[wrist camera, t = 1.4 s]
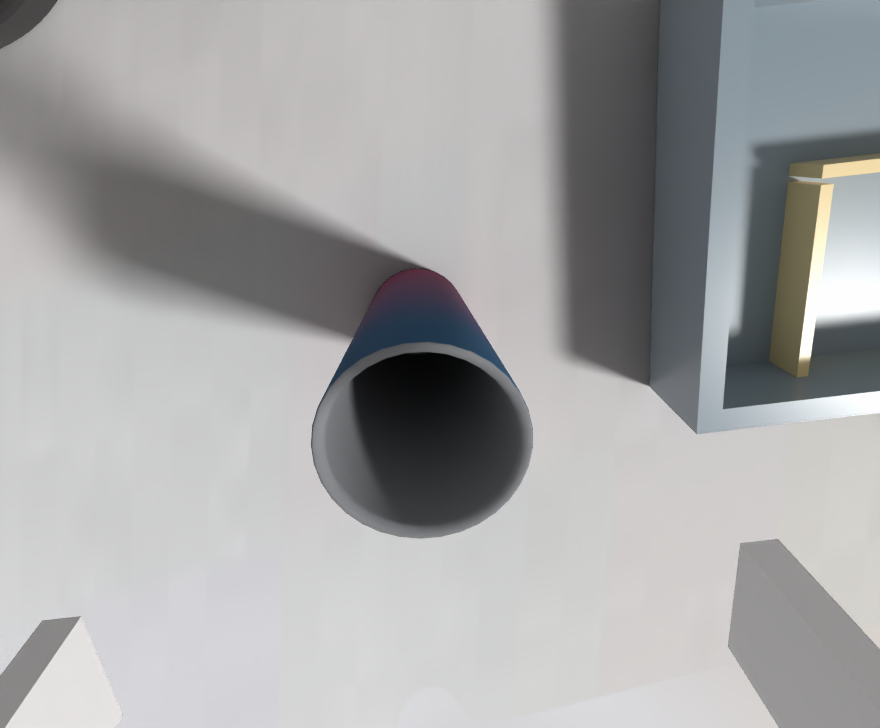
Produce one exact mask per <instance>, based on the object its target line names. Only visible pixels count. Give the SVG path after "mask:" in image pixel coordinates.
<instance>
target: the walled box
mask: <svg viewBox="0 0 880 728" xmlns="http://www.w3.org/2000/svg"><path fill="white" fill-rule="evenodd" d="M649 386H650V387H651V388H652V389H653V391H654V392H655V393H656V394H657V395H658V396H659V397H660V398H661V399H662V400H663V401H664V402H665V403H666V404H667V405H668V406H669V407H670V408H671V409H672V410H673V411H674V412H675V413H676V414H677V415H678V416H679V417H680V418H681V419H682V420H683V421H684V422H685V423H686V424H687V425H688V426H689V427H690V428H691V429H692V430H693V431H694V432H695V433H696V434H702V433H711V432H720V431H728V430H737V429H745V428H754V427H762V426H771V425H780V424H788V423H797V422H805V421H814V420H822V419H831V418H840V417H848V416H857V415H865V414H874V413H880V0H660V21H659V57H658V94H657V130H656V166H655V202H654V238H653V275H652V311H651V347H650V383H649Z"/></svg>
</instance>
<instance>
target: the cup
mask: <svg viewBox="0 0 880 728" xmlns="http://www.w3.org/2000/svg"><path fill="white" fill-rule="evenodd" d="M311 448H312V454H313V461H314V465H315V468H316V470H317V473H318V476H319V478H320V481H321V483H322V484H323V486H324V487H325V489H326V490H327V492H328V493H329V495H330V496H331V498H332V499H333V500H334V501H335V502H336V503H337V504H338V505H339V506H340V507H341V508H342V509H343V510H344V511H345V512H346V513H347V514H349V515H350V516H352V517H353V518H355V519H356V520H357V521H359V522H360V523H362V524H364V525H366V526H368V527H371V528H373V529H375V530H377V531H380V532H383V533H387V534H391V535H395V536H399V537H409V538H432V537H442V536H446V535H450V534H454V533H458V532H461V531H464V530H466V529H468V528H470V527H473V526H475V525H477V524H479V523H481V522H482V521H484V520H485V519H487V518H488V517H490V516H492V515H493V514H495V513H496V512H497V511H498V510H499V509H500V508H501V507H502V506H503V505H504V504H505V503H506V502H507V501H508V500H509V499H510V498H511V497H512V495H513V494H514V492H515V491H516V490H517V488H518V487H519V486H520V484H521V482H522V480H523V478H524V475H525V473H526V471H527V469H528V466H529V462H530V458H531V453H532V448H533V428H532V423H531V419H530V415H529V410H528V408H527V406H526V403H525V401H524V399H523V397H522V395H521V393H520V391H519V389H518V388H517V386H516V385H515V383H514V381H513V380H512V378H511V377H510V375H509V373H508V372H507V370H506V369H505V367H504V365H503V364H502V362H501V360H500V359H499V357H498V356H497V354H496V352H495V351H494V349H493V348H492V346H491V344H490V343H489V341H488V340H487V338H486V336H485V335H484V333H483V332H482V330H481V328H480V327H479V325H478V324H477V322H476V320H475V319H474V317H473V315H472V314H471V312H470V311H469V309H468V307H467V306H466V304H465V303H464V301H463V299H462V298H461V296H460V295H459V293H458V291H457V290H456V289H455V287H454V286H453V285H452V283H451V282H450V281H448V280H447V279H446V278H445V277H443V276H442V275H440V274H438V273H436V272H433V271H430V270H426V269H408V270H405V271H401V272H399V273H397V274H395V275H393V276H391V277H390V278H389V279H388V280H386V281H385V282H384V283H383V285H382V286H381V287H380V288H379V290H378V292H377V293H376V295H375V297H374V299H373V301H372V303H371V305H370V307H369V309H368V311H367V313H366V315H365V316H364V318H363V320H362V322H361V324H360V326H359V328H358V330H357V332H356V334H355V336H354V338H353V340H352V342H351V344H350V346H349V347H348V349H347V351H346V353H345V355H344V357H343V359H342V361H341V363H340V365H339V367H338V369H337V371H336V373H335V375H334V377H333V378H332V380H331V382H330V384H329V386H328V388H327V390H326V392H325V394H324V396H323V398H322V400H321V402H320V404H319V406H318V408H317V412H316V415H315V418H314V422H313V425H312V438H311Z"/></svg>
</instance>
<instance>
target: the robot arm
mask: <svg viewBox="0 0 880 728" xmlns="http://www.w3.org/2000/svg"><path fill="white" fill-rule="evenodd" d="M56 2H57V0H0V48H2V47H4V46H6V45H8V44H10V43H12V42H14V41H16V40H17V39H19V38H21V37H22V36H24V35H25V34H26V33H28V32H29V31H30V30H32V29H33V28H34V27H35V26H36V25H37V24H38V23H39V22H40V21H41V20H42V19H43V18H44V17H45V16H46V15H47V14H48V13H49V11H50V10H51V9H52V7H53V6H54V5H55V3H56ZM728 647H729V649H730V650H731V652H732V654H733V655H734V657H735V658H736V660H737V662H738V663H739V665H740V666H741V668H742V670H743V671H744V673H745V674H746V676H747V677H748V679H749V681H750V682H751V684H752V685H753V687H754V688H755V690H756V692H757V693H758V695H759V697H760V698H761V700H762V701H763V703H764V704H765V706H766V708H767V709H768V711H769V712H770V714H771V715H772V717H773V719H774V720H775V722H776V724H777V725H778V727H779V728H880V649H879V648H878V647H877V646H876V645H875V644H874V642H873V641H872V640H871V639H870V638H869V637H868V636H867V635H866V634H865V633H864V632H863V631H862V629H861V628H860V627H859V626H858V625H857V624H856V623H855V622H854V621H853V620H852V619H851V618H850V616H849V615H848V614H847V613H846V612H845V611H844V610H843V609H842V608H841V607H840V606H839V605H838V603H837V602H836V601H835V600H834V599H833V598H832V597H831V596H830V595H829V594H828V593H827V592H826V590H825V589H824V588H823V587H822V586H821V585H820V584H819V583H818V582H817V581H816V580H815V578H814V577H813V576H812V575H811V574H810V573H809V572H808V571H807V570H806V569H805V568H804V567H803V565H802V564H801V563H800V562H799V561H798V560H797V559H796V558H795V557H794V556H793V555H792V554H791V552H790V551H789V550H788V549H787V548H786V547H785V546H784V545H783V544H782V543H781V542H780V541H779V539H775V540H766V541H757V542H748V543H740V550H739V559H738V567H737V575H736V583H735V591H734V600H733V608H732V616H731V624H730V633H729V641H728ZM122 715H123V714H122V712H121V709H120V707H119V705H118V702H117V700H116V698H115V695H114V693H113V690H112V688H111V686H110V683H109V681H108V679H107V676H106V674H105V671H104V669H103V667H102V664H101V662H100V660H99V657H98V655H97V653H96V650H95V648H94V645H93V643H92V641H91V638H90V636H89V634H88V631H87V629H86V626H85V624H84V622H83V619H82V617H81V616H80V617H71V618H62V619H53V620H44V621H42V622H41V623H40V624H39V626H38V627H37V628H36V629H35V631H34V632H33V633H32V635H31V636H30V637H29V639H28V640H27V641H26V643H25V644H24V645H23V647H22V648H21V649H20V651H19V652H18V653H17V654H16V656H15V657H14V658H13V660H12V661H11V662H10V664H9V665H8V666H7V668H6V669H5V670H4V672H3V673H2V674H1V676H0V728H116V727H117V725H118V723H119V721H120V719H121V717H122Z"/></svg>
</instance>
